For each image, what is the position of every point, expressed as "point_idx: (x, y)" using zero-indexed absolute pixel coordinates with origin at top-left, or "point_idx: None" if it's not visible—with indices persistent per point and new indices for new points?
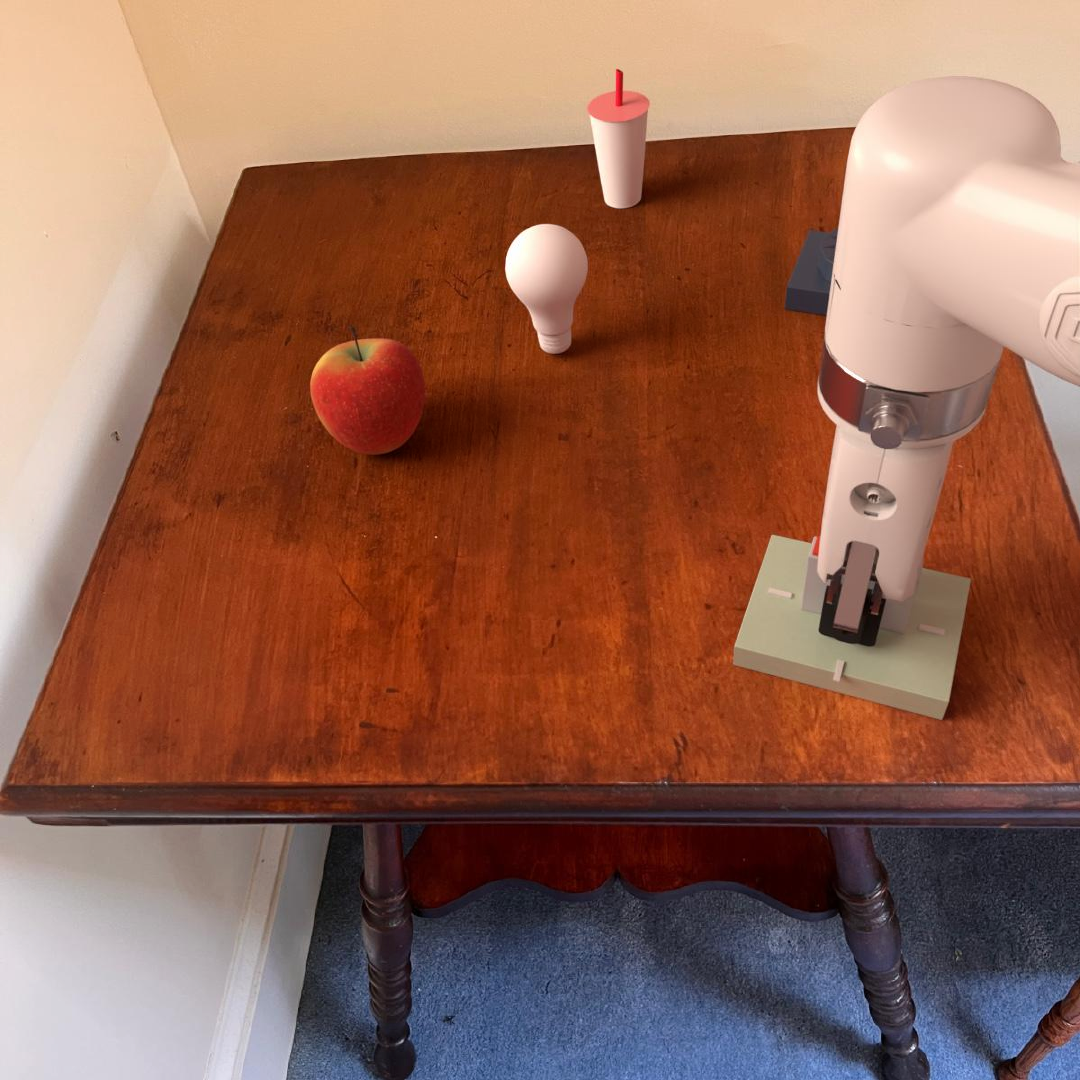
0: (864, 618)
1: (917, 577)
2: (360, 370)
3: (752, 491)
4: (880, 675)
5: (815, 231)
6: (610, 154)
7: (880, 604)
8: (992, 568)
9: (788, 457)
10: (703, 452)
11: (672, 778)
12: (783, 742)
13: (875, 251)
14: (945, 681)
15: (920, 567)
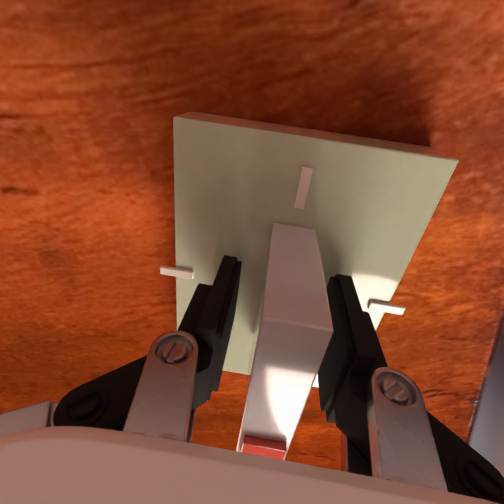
0: (386, 366)
1: (321, 332)
2: None
3: (110, 346)
4: (394, 259)
5: None
6: None
7: (373, 364)
8: (112, 58)
9: (46, 319)
10: (81, 380)
11: (472, 397)
12: (443, 322)
13: None
14: (413, 166)
15: (288, 325)
